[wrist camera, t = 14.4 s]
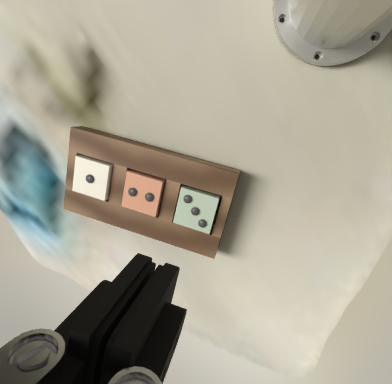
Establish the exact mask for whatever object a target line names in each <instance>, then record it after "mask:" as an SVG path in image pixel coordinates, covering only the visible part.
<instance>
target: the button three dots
mask: <svg viewBox="0 0 392 384" xmlns="http://www.w3.org/2000/svg"><path fill="white" fill-rule="evenodd" d="M220 199H221V195H218V194H214V193H211V192H208V191H204V190H201V189H197V188H194V187H191V186H187V185H183V186H182V187H181V190H180V194H179V198H178V203H177V207H176V212H175V216H174V220H173V223H176V224H179V225H182V226H185V227H188V228H191V229H194V230H197V231H201V232H204V233H207V234H210V231H211V229H212V227H213V224H214V220H215V217H216V213H217V210H218V206H219V202H220Z"/></svg>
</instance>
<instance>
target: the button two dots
mask: <svg viewBox="0 0 392 384" xmlns="http://www.w3.org/2000/svg"><path fill="white" fill-rule="evenodd" d="M166 180H167V179H164V178H160V177H157V176H154V175H150V174H147V173H143V172H140V171H137V170H133V169H131V170H129V171H127V173H126V179H125V185H124V191H123V198H122V204H121V206H122V207H125V208H128V209H132V210H135V211H138V212H141V213H144V214H147V215H150V216H153V217H156V216H157V215H158V214H159V213H160V209H161V204H162V199H163V195H164V190H165V185H166Z"/></svg>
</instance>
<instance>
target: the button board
mask: <svg viewBox="0 0 392 384" xmlns="http://www.w3.org/2000/svg"><path fill="white" fill-rule="evenodd" d="M78 155H86V156H89V157H93V158H96V159H99V160H103V161H106V162H110V163H113V164H114V167H113V174H112V181H111V188H110V195H109V199H107V200H105V201H103V200H100V199H97V198H94V197H91V196H88V195H84V194H81V193H78V192H75V191H72V188H73V178H74V167H75V157H76V156H78ZM131 169H133V170H137V171H140V172H143V173H147V174H150V175H154V176H157V177H160V178H164V179H167V180H166V185H165V190H164V195H163V199H162V204H161V209H160V213H159V214H158V215H157V216H156V217H153V216H150V215H147V214H144V213H141V212H138V211H135V210H132V209H128V208H125V207H122V206H121V204H122V198H123V191H124V185H125V179H126V173H127V171H129V170H131ZM239 174H240V170H237V169H233V168H230V167H226V166H222V165H219V164H215V163H212V162H208V161H204V160H201V159H197V158H194V157H190V156H187V155H183V154H179V153H176V152H172V151H169V150H165V149H162V148H158V147H154V146H151V145H147V144H144V143H140V142H136V141H133V140H129V139H126V138H122V137H119V136H115V135H111V134H108V133H104V132H101V131H97V130H93V129H90V128H86V127H83V126H80V127H71V131H70V143H69V154H68V165H67V176H66V187H65V199H64V209H66V210H69V211H72V212H75V213H78V214H81V215H84V216H87V217H90V218H93V219H96V220H99V221H102V222H105V223H108V224H111V225H114V226H117V227H120V228H123V229H126V230H129V231H132V232H135V233H138V234H141V235H144V236H147V237H150V238H153V239H156V240H159V241H162V242H165V243H168V244H171V245H174V246H177V247H180V248H183V249H186V250H189V251H192V252H195V253H198V254H201V255H204V256H207V257H210V258H213V259H214V258H215V255H216V252H217V249H218V246H219V242H220V239H221V235H222V232H223V229H224V225H225V222H226V218H227V215H228V212H229V208H230V205H231V201H232V198H233V194H234V191H235V188H236V184H237V181H238V177H239ZM183 185H187V186H191V187H194V188H197V189H201V190H204V191H208V192H211V193H214V194H218V195H221V196H223V197H222V200H221V204H220V207H219V211H218V214H217V218H216V222H215V225H214V228H213V227H212V229H211V231H210V234H207V233H204V232H201V231H197V230H194V229H191V228H188V227H185V226H182V225H179V224H176V223H173V220H174V216H175V212H176V207H177V203H178V198H179V194H180V190H181V187H182V186H183Z"/></svg>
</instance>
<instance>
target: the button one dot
mask: <svg viewBox="0 0 392 384" xmlns="http://www.w3.org/2000/svg"><path fill="white" fill-rule="evenodd" d="M113 167H114V164H113V163H110V162H106V161H103V160H99V159H96V158H93V157H89V156H86V155H78V156H76V157H75V167H74V178H73V188H72V191H75V192H78V193H81V194H84V195H88V196H91V197H94V198H97V199H100V200H103V201H105V200H107V199H109V195H110V188H111V181H112V174H113Z"/></svg>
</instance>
